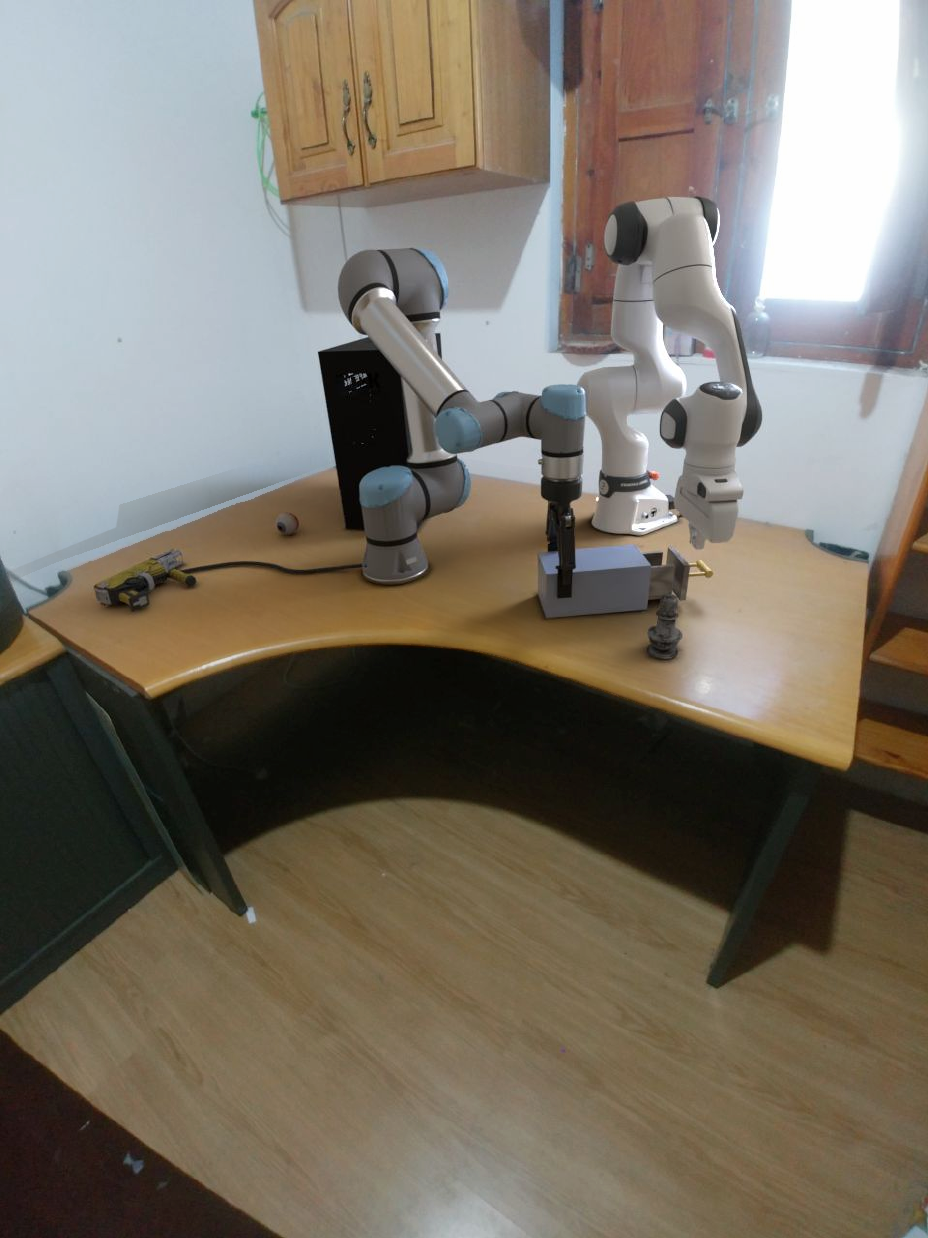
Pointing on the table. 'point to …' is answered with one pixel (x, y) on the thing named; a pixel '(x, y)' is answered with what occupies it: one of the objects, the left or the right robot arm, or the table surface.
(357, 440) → the black tall box
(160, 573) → the toy gun
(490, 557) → the table surface
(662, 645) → the dark grey chess piece
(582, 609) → the cabinet
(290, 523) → the eyeball
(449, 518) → the table surface
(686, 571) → the drawer
